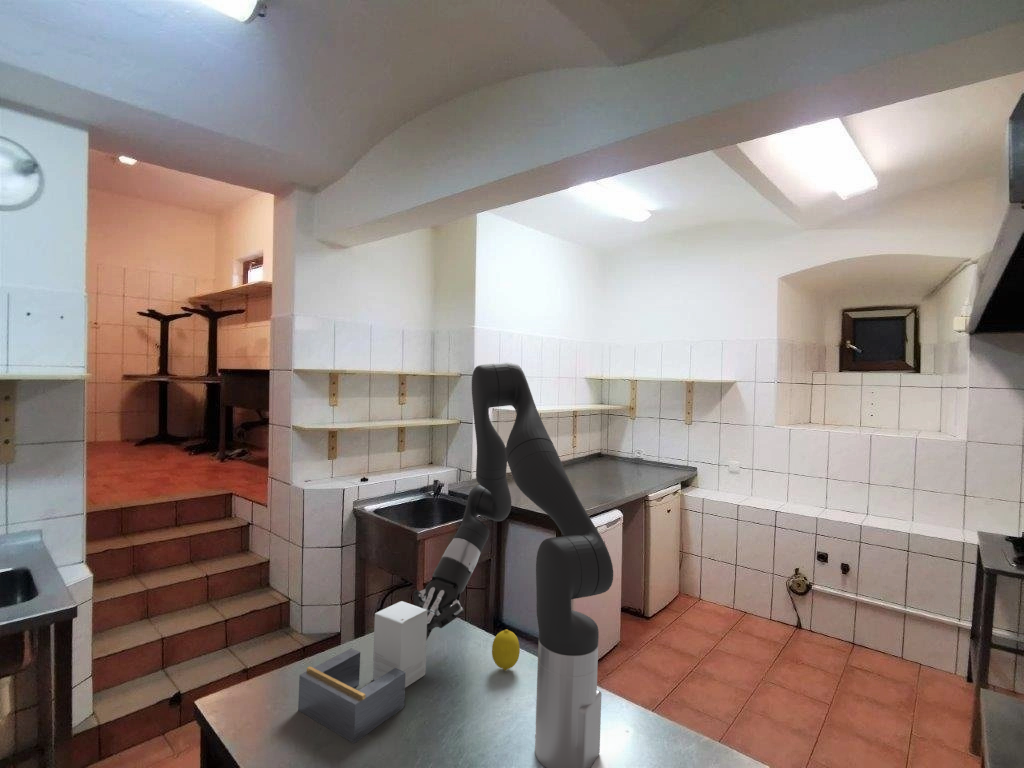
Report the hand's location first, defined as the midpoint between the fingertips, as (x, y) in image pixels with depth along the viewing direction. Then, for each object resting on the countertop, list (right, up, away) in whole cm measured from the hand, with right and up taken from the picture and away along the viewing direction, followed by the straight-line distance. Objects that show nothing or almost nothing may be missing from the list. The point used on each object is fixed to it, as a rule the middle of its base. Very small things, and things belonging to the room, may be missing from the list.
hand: (416, 643), depth 100 cm
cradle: (-8, -4, -13) cm, 16 cm away
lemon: (+18, -6, 0) cm, 19 cm away
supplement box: (-3, -5, -4) cm, 7 cm away
